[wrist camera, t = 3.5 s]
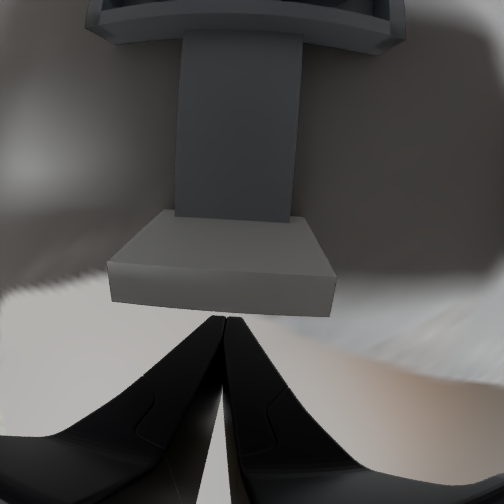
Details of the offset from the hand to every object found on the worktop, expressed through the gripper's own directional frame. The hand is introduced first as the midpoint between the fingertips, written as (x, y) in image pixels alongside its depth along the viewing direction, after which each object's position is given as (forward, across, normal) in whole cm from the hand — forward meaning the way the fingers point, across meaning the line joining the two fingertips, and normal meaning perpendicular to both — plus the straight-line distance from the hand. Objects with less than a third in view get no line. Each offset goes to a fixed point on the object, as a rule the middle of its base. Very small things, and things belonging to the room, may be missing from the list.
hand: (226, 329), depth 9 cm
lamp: (+2, 0, -7) cm, 7 cm away
